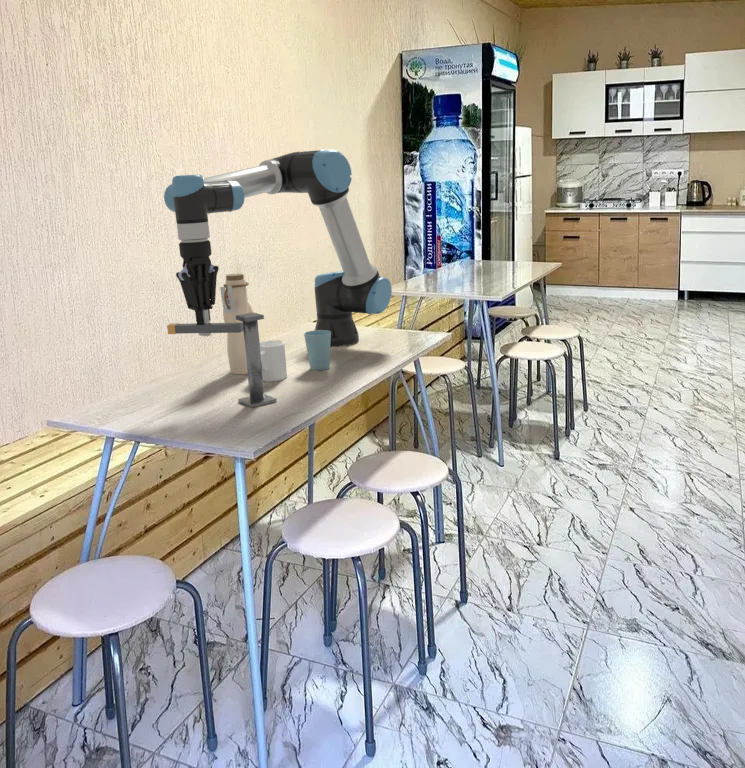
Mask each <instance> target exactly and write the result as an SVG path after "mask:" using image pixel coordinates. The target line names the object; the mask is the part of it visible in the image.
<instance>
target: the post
mask: <svg viewBox="0 0 745 768" xmlns="http://www.w3.org/2000/svg"><path fill="white" fill-rule="evenodd" d="M236 320H239V321H243V330H244V341H245V351H246V362H247V373H248V374H247V384H248V390H249V391H248V392H249V396H246V397H242V398H238V399H237V400H238V403H240V404H242V405H244V406H247V407H248V408H251V409H253V408H257V407H261V406H265V405H269V404H274V403H277V398H275V397H273V396H272V395H267V393H265V391H264V390H265V389H264V381H263V376H262V364H261V353H260V342H261V341H260V334H259V332H260V331H259V323H258V322H259V321H260V320H265V315H264V314H262V313H261V314H260V313H257V312H254V313H248V314H242V315H236Z"/></svg>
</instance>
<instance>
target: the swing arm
mask: <svg viewBox="0 0 745 768" xmlns="http://www.w3.org/2000/svg"><path fill="white" fill-rule="evenodd" d="M166 328H167V335H177V334H199V333H211V334H226V333H241V332H242V331H244V330H243V323H225V322H210V323H197V322H195V323H180V322H179V323H178V322H175V323H173V322H172V323H169V324H167V325H166Z"/></svg>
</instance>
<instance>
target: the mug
mask: <svg viewBox="0 0 745 768" xmlns="http://www.w3.org/2000/svg"><path fill="white" fill-rule="evenodd" d="M259 342H260V353H261V364H262V376H263V382H265V383H267V382H269V383H270V382H278V381H283V380H285V379H287V378H288V372H287V371H288V370H287V369H288V368H287V362H286V361H287V359H286V345H285V342H284V341H282V340H265V341H259Z"/></svg>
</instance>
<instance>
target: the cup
mask: <svg viewBox="0 0 745 768" xmlns="http://www.w3.org/2000/svg"><path fill="white" fill-rule="evenodd" d="M303 336H304V340H305V346H306V352H307V357H308V362H309V367H310V369H311V370H313V371H324V370H327V369H328V370H329V368H330V364H331V359H330V358H331V346H330V343H331V331H328V330H315V329H313V330H308V331H306V332H304V333H303Z"/></svg>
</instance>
